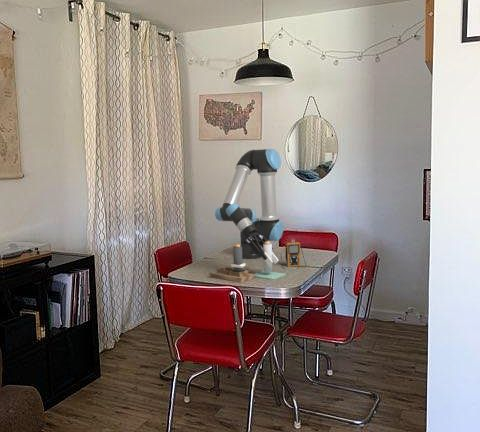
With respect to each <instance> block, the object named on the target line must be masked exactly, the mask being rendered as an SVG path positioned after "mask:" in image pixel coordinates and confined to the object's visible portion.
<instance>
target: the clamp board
mask: <svg viewBox="0 0 480 432" xmlns="http://www.w3.org/2000/svg"><path fill="white" fill-rule="evenodd" d="M209 275H210V278H212V279H218V280H223V281H224V280H225V281H229V282H236V283H243V282H246V281H250V280H252V279H255V278H256V277H255V273H251V272H250V273H249V270H247V269H243V272H234V267H230V266H228V267H227V266H224V267H221V268H217V269H216V271H214V272H211V273H209Z"/></svg>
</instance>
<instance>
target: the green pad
mask: <svg viewBox="0 0 480 432" xmlns="http://www.w3.org/2000/svg"><path fill="white" fill-rule="evenodd" d="M254 274H255V278H258V277H259V278H258V279H264V278H265V280H271V281H272V280H273V279H274V280H276V279H278V278H282V277H285V276H287V273H283V272H276V271H272V272H264V270H262V271H259V272H256V273H254ZM274 280H273V281H274Z"/></svg>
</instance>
